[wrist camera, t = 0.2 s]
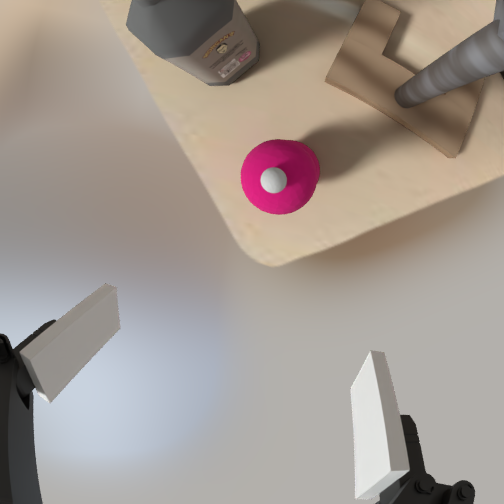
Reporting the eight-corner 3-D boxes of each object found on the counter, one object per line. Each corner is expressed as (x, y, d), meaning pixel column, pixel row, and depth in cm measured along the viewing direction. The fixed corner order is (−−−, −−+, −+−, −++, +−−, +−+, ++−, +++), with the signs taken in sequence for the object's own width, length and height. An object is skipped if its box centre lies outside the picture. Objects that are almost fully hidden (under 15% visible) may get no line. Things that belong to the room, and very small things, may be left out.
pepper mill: (325, 151, 35) (341, 144, 16) (309, 202, 38) (309, 248, 19) (272, 135, 36) (232, 115, 17) (258, 186, 38) (208, 217, 20)
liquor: (270, 54, 32) (180, -101, 4) (220, 95, 35) (48, 17, 7) (228, 19, 31) (112, -107, 3) (182, 58, 34) (19, -18, 6)
